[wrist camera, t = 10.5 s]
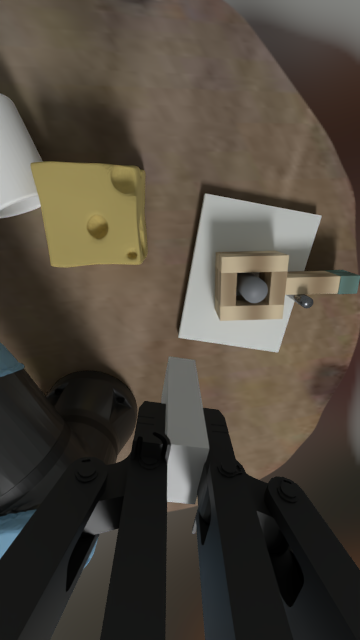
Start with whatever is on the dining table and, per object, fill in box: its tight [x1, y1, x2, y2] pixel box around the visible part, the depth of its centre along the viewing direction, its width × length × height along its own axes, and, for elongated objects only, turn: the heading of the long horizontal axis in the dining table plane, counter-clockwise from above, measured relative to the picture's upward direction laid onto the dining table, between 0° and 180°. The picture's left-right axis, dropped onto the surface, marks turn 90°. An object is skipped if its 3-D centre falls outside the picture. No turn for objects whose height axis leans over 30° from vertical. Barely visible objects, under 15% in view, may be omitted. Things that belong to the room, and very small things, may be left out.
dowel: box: [287, 294, 313, 308], centre depth 38 cm, size 1×1×6 cm
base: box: [178, 193, 322, 352], centre depth 38 cm, size 20×16×8 cm
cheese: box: [30, 161, 148, 267], centre depth 33 cm, size 10×11×10 cm
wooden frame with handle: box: [215, 251, 360, 321], centre depth 37 cm, size 18×8×5 cm, turn 91°
